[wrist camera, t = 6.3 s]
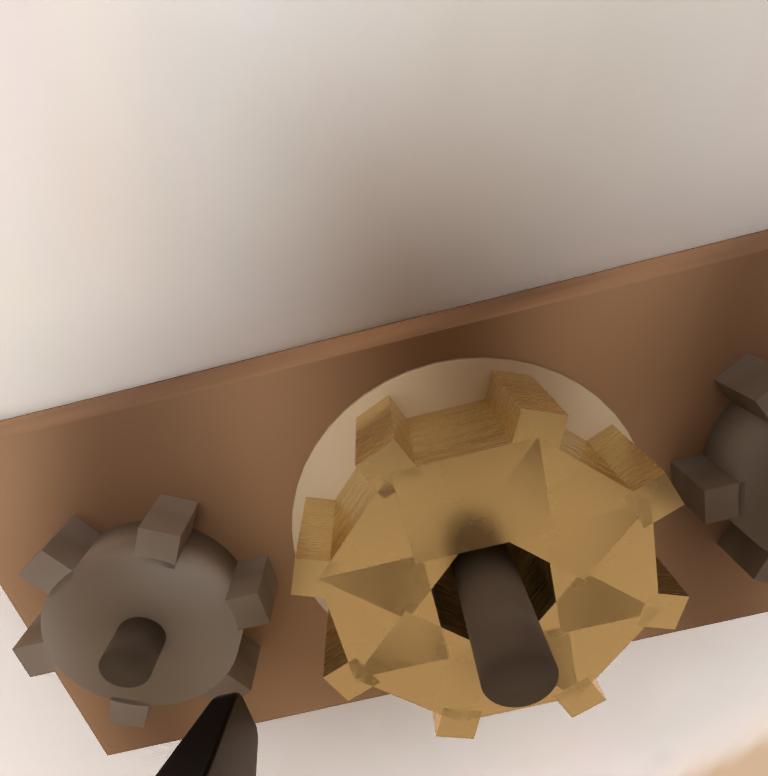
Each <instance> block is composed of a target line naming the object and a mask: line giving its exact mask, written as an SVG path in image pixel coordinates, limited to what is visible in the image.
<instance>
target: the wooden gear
mask: <svg viewBox="0 0 768 776" xmlns="http://www.w3.org/2000/svg"><path fill="white" fill-rule="evenodd" d="M568 417H569V415H568V414H567V413H566V412H565V411H564V410H563V408H562V407H561V406H560V405H559V404H558V403H557V402H556V401H555V400H554V399H553V398H552V397H551V396H550V395H549V394H548V393H547V392H546V390H545V389H544V388H543V387H542V386H541V385H540V384H539V383H538V382H537V381H536V380H535V379H534V378H533V377H532V376H531V375H526V374H518V373H511V372H503V371H496V370H492V371H491V376H490V380H489V384H488V389H487V393H486V397H485V399H484V400H480V401H475V402H471V403H467V404H463V405H459V406H455V407H451V408H446V409H442V410H438V411H434V412H430V413H426V414H422V415H418V416H413V417H409V418H406V417H405V416H404V414H403V413H402V412H401V411H400V409H399V408H398V407H397V406H396V404H395V403H394V402H393V401H392V399H391V398H390V397H389V395H388V396H387V397H385V398H384V399H382V400H381V401H379V402H378V403H377V404H375V405H374V406H372V407H371V408H369V409H368V410H367V411H365V412H364V413H362V414H361V415H359V416H358V417H357V418H356V447H355V467H356V469H355V470H354V472H353V473H352V475H351V477H350V478H349V480H348V481H347V483H346V484H345V486H344V487H343V489H342V490H341V492H340V493H339V495H338V496H337V498H336V499H335V500H331V499H321V498H312V497H306V500H305V505H304V511H303V516H302V522H301V528H300V533H299V539H298V544H297V550H296V556H295V563H294V571H293V580H292V589H291V595H299V596H310V597H321V598H325V599H326V602H327V605H328V619H327V632H326V645H325V658H324V671H323V678H324V679H325V680H326V681H327V682H328V683H329V684H330V685H331V686H332V687H334V688H335V689H336V690H337V691H338V692H339V693H340V694H341V695H342V696H343V697H344V698H345V699H346V700H348V701H349V700H351V699H353V698H354V697H356V696H358V695H359V694H361V693H363V692H365V691H366V690H368V689H370V688H371V687H375V688H378V689H380V690H383V691H385V692H388V693H390V694H392V695H395V696H397V697H400V698H402V699H405V700H407V701H409V702H412V703H414V704H417V705H419V706H422V707H424V708H427V709H429V710H431V711H433V717H434V725H435V732H436V736H441V737H455V738H470V739H474V736H475V732H476V729H477V726H478V722H479V719H480V717H484V716H489V715H493V714H498V713H503V712H507V711H512V710H517V709H521V708H526V707H531V706H535V705H540V704H545V703H549V702H554V701H558V702H559V703H560V704H561V705H562V706H563V708H564V709H565V710H566V711H567V712H568V713H569V715H570V716H571V717H572V718H573V717H575V716H576V715H578V714H580V713H582V712H584V711H586V710H588V709H590V708H592V707H593V706H595V705H597V704H599V703H601V702H603V701H605V700H606V698H605V696H604V694H603V692H602V690H601V688H600V686H599V684H598V682H597V680H596V678H597V677H598V675H599V674H600V673H601V672H602V671H603V670H604V669H605V668H606V667H607V666H608V665H609V664H610V663H611V662H612V661H613V660H614V659H615V658H616V657H617V656H618V655H619V653H620V652H621V651H622V650H623V649H624V648H625V647H626V646H627V645H628V644H629V643H630V642H631V641H632V640H633V639H634V638H635V637H636V636H637V635H638V634H639V633H640V632H641V630H642V629H643V628H644V627H652V628H663V629H674V630H675V628H676V626H677V624H678V622H679V619H680V617H681V615H682V612H683V610H684V608H685V605H686V603H687V601H688V599H689V596H688V594H687V593H686V592H685V591H684V589H683V588H682V587H681V586H680V585H679V583H678V582H677V581H676V580H675V578H674V577H673V576H672V575H671V574H670V572H669V571H668V570H667V569H666V567H665V566H664V565H663V564H662V563H661V561H660V560H659V559H658V558H657V556H656V555H655V541H654V528H653V523H654V522H656V521H657V520H659V519H661V518H663V517H664V516H666V515H668V514H669V513H671V512H673V511H675V510H676V509H678V508H680V507H681V506H683V505H685V504H684V502H683V501H682V499H681V497H680V496H679V494H678V492H677V491H676V489H675V488H674V486H673V484H672V483H671V481H670V479H669V478H668V476H667V475H666V473H665V472H664V471H663V470H662V469H661V468H660V467H659V466H658V465H657V464H655V463H654V462H653V461H652V460H651V459H650V458H649V457H648V456H647V455H646V454H644V453H643V452H642V451H641V450H640V449H639V448H638V447H637V446H636V445H635V444H634V443H632V442H631V441H630V440H629V439H628V438H627V437H626V436H625V435H624V434H623V433H621V432H620V431H619V430H618V429H617V428H616V427H615V426H614V425H613V424H612V425H610V426H609V427H607V428H605V429H604V430H602V431H601V432H599V433H597V434H596V435H594V436H593V437H591V438H590V439H588V440H584V439H583V438H581V437H579V436H577V435H576V434H574V433H572V432H571V431H569V430H567V429H565V427H566V423H567V420H568ZM507 542H510V543H512V544H514V545H516V548H515V549H514V550H513V551H512V552H511V556H512V559H513V561H514V563H515V566H516V568H517V571H518V573H519V575H520V578H521V580H522V583H523V585H524V587H525V590H526V592H527V594H528V597H529V599H530V602H531V604H532V606H533V609H534V611H535V614H536V616H537V618H538V621H539V623H540V626H541V628H542V630H543V633H544V635H545V638H546V640H547V642H548V645H549V647H550V650H551V652H552V654H553V657H554V659H555V662H556V664H557V666H558V670H559V678H558V682H557V684H556V686H555V688H554V689H553V690H552V692H551V693H550V694H549V695H548V696H546V697H545V698H544V699H542V700H541V701H539V702H537V703H534V704H532V705H528V706H524V707H505V706H501V705H498V704H496V703H494V702H492V701H491V700H489V699H488V698H487V697H486V696H485V694H484V693H483V691H482V688H481V685H480V681H479V676H478V672H477V668H476V664H475V660H474V656H473V652H472V648H471V644H470V640H469V636H468V632H467V628H466V623H465V619H464V615H463V611H462V607H461V603H460V599H459V595H458V591H457V587H456V583H455V579H454V574H453V570H451V569H449V568H448V567H449V566H450V564H451V563H452V562H453V560H454V559H455V558H456V557H457V555H458V554H459V553H464V552H468V551H472V550H477V549H481V548H485V547H490V546H494V545H498V544H503V543H507Z"/></svg>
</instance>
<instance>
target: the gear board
mask: <svg viewBox="0 0 768 776" xmlns="http://www.w3.org/2000/svg"><path fill="white" fill-rule="evenodd" d="M492 370H496V371H503V372H511V373H518V374H526V375H531V376H532V377H533V378H534V379H535V380H536V381H537V382H538V383H539V384H540V385H541V386H542V387H543V388H544V389H545V390H546V392H547V393H548V394H549V395H550V396H551V397H552V398H553V399H554V400H555V401H556V402H557V403H558V404H559V405H560V406H561V407H562V408H563V410H564V411H565V412H566V413H567V414H568V415H569V417H568V420H567V423H566V427H565V429H567V430H569V431H571V432H572V433H574V434H576V435H577V436H579V437H581V438H583V439H584V440H588V439H590V438H591V437H593V436H594V435H596V434H597V433H599V432H601V431H602V430H604V429H605V428H607V427H609V426H610V425H612V424H613V425H614V426H615V427H616V428H617V429H618V430H619V431H620V432H621V433H623V434H624V435H625V436H626V437H627V438H628V439H629V440H630V441H631V442H632V443H634V444H635V445H636V446H637V447H638V448H639V449H640V450H641V451H642V452H643V453H644V454H646V455H647V456H648V457H649V458H650V459H651V460H652V461H653V462H654V463H655V464H657V465H658V466H659V467H660V468H661V469H662V470H663V471H664V472H665V473H666V475H667V476H668V478H669V479H670V481H671V483H672V484H673V486H674V488H675V489H676V491H677V492H678V494H679V496H680V497H681V499H682V501H683V502H684V504H685V505H683V506H681V507H680V508H678V509H676V510H675V511H673V512H671V513H669V514H668V515H666V516H664V517H663V518H661V519H659V520H657V521H656V522H654V523H653V528H654V541H655V555H656V556H657V558H658V559H659V560H660V561H661V563H662V564H663V565H664V566H665V567H666V569H667V570H668V571H669V572H670V574H671V575H672V576H673V577H674V578H675V580H676V581H677V582H678V583H679V585H680V586H681V587H682V588H683V589H684V591H685V592H686V593H687V594H688V596H689V599H688V601H687V603H686V605H685V608H684V610H683V612H682V615H681V617H680V619H679V622H678V624H677V626H676V628H675V630H674V629H663V628H652V627H644V628H643V629H642V630H641V632H640V633H639V634H638V635H637V636H636V637H635V638H634V639H633V640H632V641H635V640H640V639H644V638H649V637H653V636H658V635H663V634H667V633H672V632H676V631H681V630H686V629H690V628H695V627H699V626H704V625H709V624H713V623H718V622H722V621H727V620H731V619H736V618H741V617H745V616H750V615H754V614H759V613H764V612H768V230H765V231H761V232H757V233H753V234H749V235H745V236H741V237H737V238H733V239H729V240H725V241H721V242H717V243H713V244H709V245H705V246H701V247H697V248H693V249H689V250H685V251H681V252H677V253H673V254H669V255H665V256H661V257H657V258H653V259H649V260H645V261H641V262H637V263H633V264H629V265H625V266H621V267H617V268H613V269H609V270H605V271H601V272H597V273H593V274H589V275H585V276H581V277H577V278H573V279H569V280H565V281H561V282H557V283H553V284H549V285H545V286H541V287H537V288H533V289H529V290H525V291H521V292H517V293H513V294H509V295H505V296H501V297H496V298H492V299H488V300H484V301H480V302H476V303H472V304H468V305H464V306H460V307H456V308H452V309H448V310H444V311H440V312H436V313H432V314H428V315H424V316H420V317H416V318H412V319H408V320H404V321H400V322H396V323H392V324H388V325H384V326H380V327H376V328H372V329H368V330H364V331H360V332H356V333H352V334H348V335H344V336H340V337H336V338H332V339H328V340H324V341H320V342H316V343H312V344H308V345H304V346H300V347H296V348H292V349H288V350H284V351H280V352H276V353H272V354H268V355H264V356H260V357H256V358H252V359H248V360H244V361H240V362H236V363H232V364H228V365H224V366H220V367H216V368H212V369H208V370H204V371H200V372H196V373H192V374H188V375H184V376H180V377H176V378H172V379H168V380H164V381H160V382H156V383H152V384H148V385H144V386H140V387H136V388H132V389H128V390H124V391H119V392H115V393H111V394H107V395H103V396H99V397H95V398H91V399H87V400H83V401H79V402H75V403H71V404H67V405H63V406H59V407H55V408H51V409H47V410H43V411H39V412H35V413H31V414H27V415H23V416H19V417H15V418H11V419H7V420H3V421H0V585H1V587H2V588H3V590H4V591H5V593H6V594H7V596H8V598H9V599H10V601H11V602H12V604H13V606H14V607H15V609H16V610H17V612H18V614H19V615H20V617H21V618H22V620H23V622H24V623H25V625H26V626H27V628H28V629H27V631H26V632H25V633H24V635H23V636H22V637H21V639H20V640H19V641H18V643H17V644H16V645H15V647H14V648H13V649H12V650H13V651H14V653H15V654H16V656H17V657H18V659H19V660H20V662H21V663H22V665H23V666H24V668H25V670H26V671H27V673H28V674H29V676H30V677H33V676H37V675H42V674H46V673H50V672H56V674H57V676H58V677H59V679H60V680H61V682H62V684H63V685H64V687H65V688H66V690H67V692H68V693H69V695H70V696H71V698H72V700H73V701H74V703H75V704H76V706H77V708H78V709H79V711H80V712H81V714H82V715H83V717H84V719H85V720H86V722H87V723H88V725H89V727H90V728H91V730H92V731H93V733H94V735H95V736H96V738H97V739H98V741H99V743H100V744H101V746H102V747H103V749H104V751H105V752H106V754H107V755H112V754H116V753H121V752H125V751H130V750H135V749H139V748H144V747H148V746H153V745H158V744H162V743H167V742H171V741H176V740H181V739H183V738H184V737H185V735H186V734H187V732H188V731H189V730H190V728H191V727H192V726H193V724H194V723H195V722H196V720H197V719H198V718H199V716H200V715H201V713H202V712H203V711H204V709H205V708H206V707H207V705H208V704H209V703H210V701H211V700H212V699H213V698H215V697H216V696H219V695H224V694H228V693H233V692H238V693H240V694H241V695H242V697H243V699H244V701H245V703H246V705H247V707H248V709H249V711H250V714H251V716H252V718H253V720H254V722H255V723H259V722H263V721H268V720H272V719H277V718H282V717H286V716H291V715H295V714H300V713H305V712H309V711H314V710H318V709H323V708H327V707H332V706H337V705H341V704H346V703H350V702H355V701H360V700H364V699H369V698H373V697H378V696H383V695H387V694H390V693H388V692H385V691H383V690H380V689H378V688H375V687H371V688H370V689H368V690H366V691H365V692H363V693H361V694H359V695H358V696H356V697H354V698H353V699H351V700H349V701H348V700H346V699H345V698H344V697H343V696H342V695H341V694H340V693H339V692H338V691H337V690H336V689H335V688H334V687H332V686H331V685H330V684H329V683H328V682H327V681H326V680H325V679H324V678H323V671H324V658H325V645H326V632H327V619H328V605H327V602H326V599H325V598H321V597H310V596H299V595H291V589H292V580H293V571H294V563H295V556H296V550H297V544H298V539H299V533H300V528H301V522H302V516H303V511H304V505H305V500H306V497H312V498H321V499H331V500H335V499H336V498H337V496H338V495H339V493H340V492H341V490H342V489H343V487H344V486H345V484H346V483H347V481H348V480H349V478H350V477H351V475H352V473H353V472H354V470H355V469H356V467H355V447H356V418H357V417H358V416H359V415H361V414H362V413H364V412H365V411H367V410H368V409H369V408H371V407H372V406H374V405H375V404H377V403H378V402H379V401H381V400H382V399H384V398H385V397H387V396H388V395H389V397H390V398H391V399H392V401H393V402H394V403H395V404H396V406H397V407H398V408H399V409H400V411H401V412H402V413H403V414H404V416H405V417H406V418H409V417H413V416H418V415H422V414H426V413H430V412H434V411H438V410H442V409H446V408H451V407H455V406H459V405H463V404H467V403H471V402H475V401H480V400H484V399H485V397H486V393H487V389H488V384H489V380H490V376H491V371H492ZM515 548H516V545H514V544H512V543H510V542H507V543H503V544H498V545H494V546H490V547H485V548H481V549H477V550H472V551H468V552H464V553H459V554H458V555H457V557H456V558H455V559H454V560H453V562H452V563H451V564H450V566H449V567H448V568H449V569H451V570H453V574H454V579H455V583H456V587H457V591H458V595H459V599H460V603H461V607H462V611H463V615H464V619H465V623H466V628H467V632H468V636H469V640H470V644H471V648H472V652H473V656H474V660H475V664H476V668H477V672H478V676H479V681H480V685H481V688H482V691H483V693H484V694H485V696H486V697H487V698H488V699H489V700H491V701H492V702H494V703H496V704H498V705H501V706H505V707H524V706H528V705H532V704H534V703H537V702H539V701H541V700H542V699H544V698H545V697H546V696H548V695H549V694H550V693H551V692H552V690H553V689H554V688H555V686H556V684H557V682H558V678H559V670H558V666H557V664H556V662H555V659H554V657H553V654H552V652H551V650H550V647H549V645H548V642H547V640H546V638H545V635H544V633H543V630H542V628H541V626H540V623H539V621H538V618H537V616H536V614H535V611H534V609H533V606H532V604H531V602H530V599H529V597H528V594H527V592H526V590H525V587H524V585H523V583H522V580H521V578H520V575H519V573H518V571H517V568H516V566H515V563H514V561H513V559H512V556H511V552H512V551H513V550H514V549H515Z"/></svg>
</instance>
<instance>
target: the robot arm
mask: <svg viewBox="0 0 768 776" xmlns="http://www.w3.org/2000/svg"><path fill="white" fill-rule="evenodd" d="M257 747H258V734H257V728H256V725H255V722H254V720H253V718H252V716H251V714H250V711H249V709H248V707H247V705H246V703H245V701H244V699H243V697H242V695H241V694H240V693H238V692H233V693H228V694H224V695H219V696H216V697H215V698H213V699H212V700H211V701H210V703H209V704H208V705H207V707H206V708H205V709H204V711H203V712H202V713H201V715H200V716H199V718H198V719H197V720H196V722H195V723H194V724H193V726H192V727H191V728H190V730H189V731H188V732H187V734H186V735H185V737H184V738H183V739H182V741H181V742H180V743H179V745H178V746H177V747H176V749H175V750H174V751H173V753H172V754H171V756H170V757H169V758H168V760H167V761H166V762H165V764H164V765H163V766H162V768H161V769H160V770H159V772H158V773H157V775H156V776H256V765H257Z"/></svg>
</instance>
